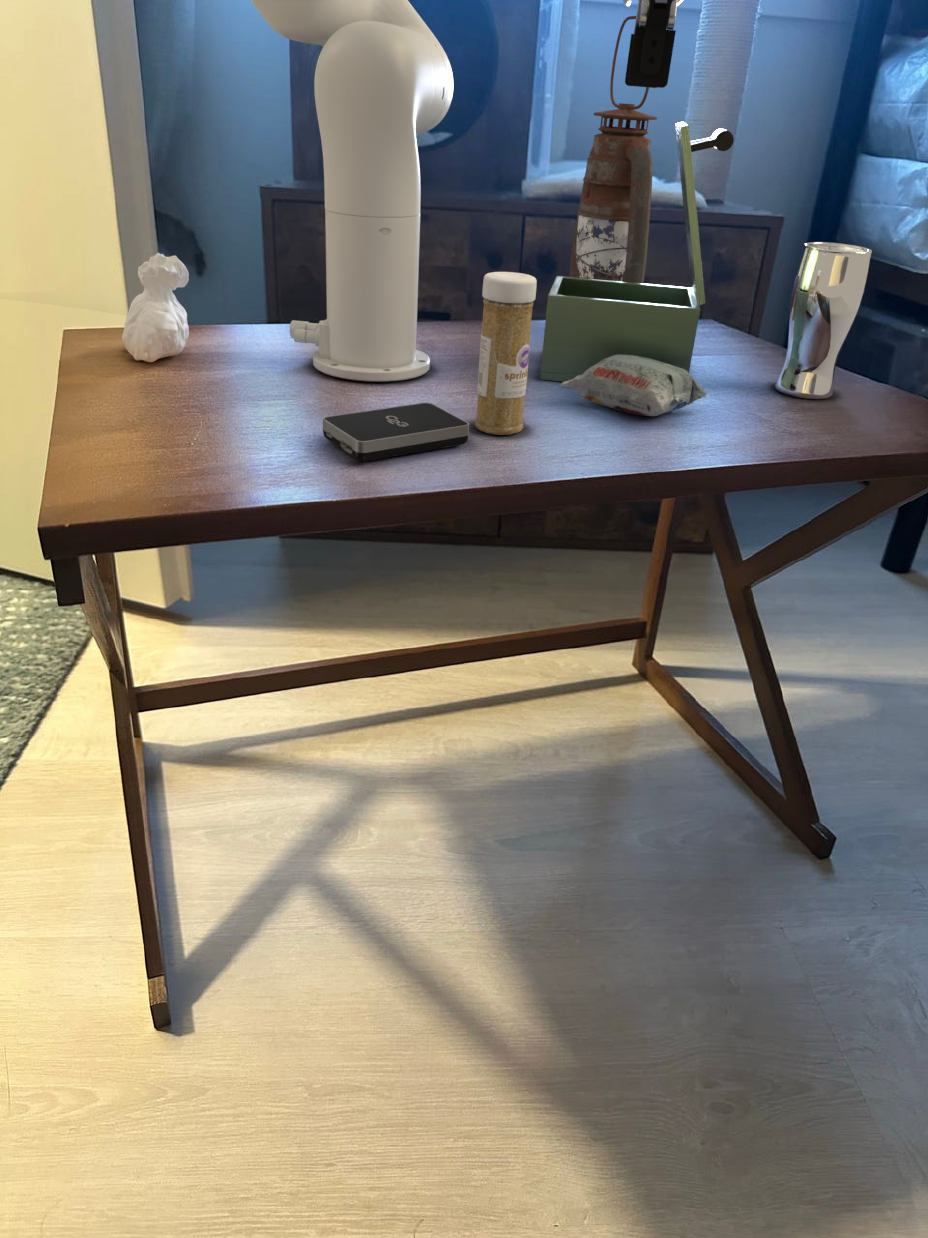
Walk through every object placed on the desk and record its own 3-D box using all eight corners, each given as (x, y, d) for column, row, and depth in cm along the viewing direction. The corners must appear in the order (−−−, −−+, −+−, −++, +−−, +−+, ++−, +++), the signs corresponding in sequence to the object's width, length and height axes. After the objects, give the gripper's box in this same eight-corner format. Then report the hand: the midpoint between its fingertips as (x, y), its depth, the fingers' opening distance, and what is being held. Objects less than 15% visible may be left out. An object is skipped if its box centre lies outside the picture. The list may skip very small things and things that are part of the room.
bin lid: (680, 126, 87) (735, 113, 85) (675, 123, 97) (724, 111, 96) (697, 305, 94) (748, 295, 93) (691, 284, 104) (736, 275, 103)
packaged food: (660, 433, 86) (669, 380, 84) (557, 403, 93) (563, 353, 90) (704, 416, 92) (714, 366, 90) (604, 389, 99) (611, 342, 96)
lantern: (588, 352, 112) (632, 6, 94) (532, 321, 125) (561, 12, 107) (666, 349, 115) (722, 16, 98) (603, 319, 128) (643, 20, 111)
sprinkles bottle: (516, 439, 83) (530, 282, 76) (467, 431, 84) (477, 275, 77) (528, 424, 86) (542, 273, 80) (481, 417, 87) (492, 267, 81)
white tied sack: (173, 389, 96) (233, 299, 95) (106, 348, 92) (168, 251, 90) (153, 360, 106) (208, 277, 104) (92, 320, 101) (148, 232, 99)
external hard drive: (320, 440, 80) (320, 417, 78) (429, 423, 85) (430, 401, 84) (359, 466, 75) (359, 442, 74) (471, 446, 80) (473, 424, 79)
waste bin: (539, 379, 100) (548, 295, 96) (548, 352, 111) (556, 275, 106) (685, 394, 99) (700, 309, 94) (680, 365, 109) (694, 287, 104)
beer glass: (846, 393, 103) (885, 249, 95) (819, 404, 98) (857, 254, 91) (788, 378, 107) (820, 239, 99) (759, 389, 102) (791, 244, 94)
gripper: (629, -147, 79) (600, 83, 88) (637, -201, 64) (601, 82, 73) (717, -141, 79) (679, 89, 87) (746, -195, 64) (697, 90, 73)
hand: (644, 86), depth 80 cm, fingers open, 9 cm apart
